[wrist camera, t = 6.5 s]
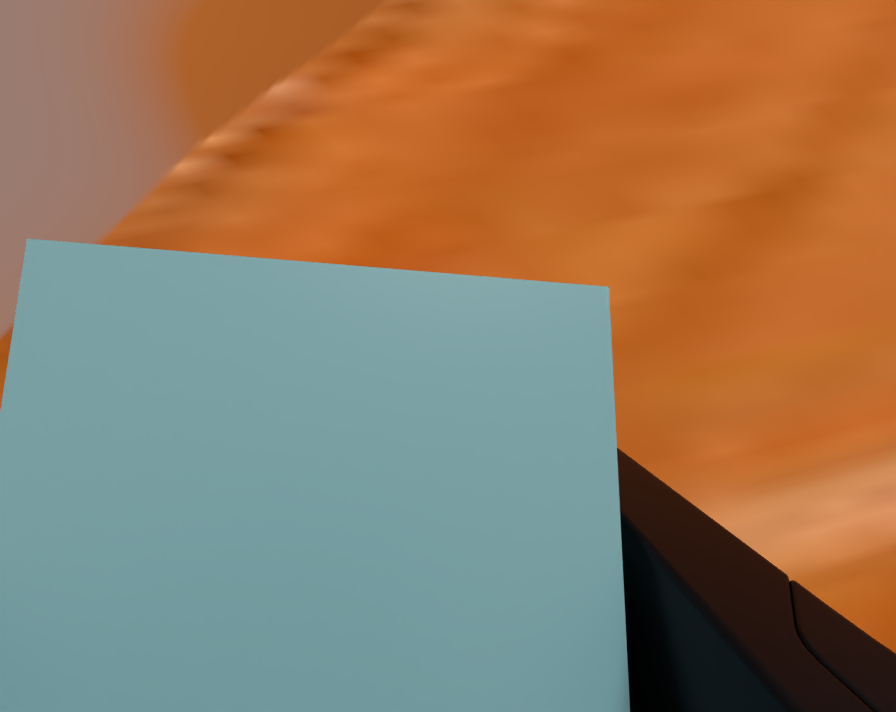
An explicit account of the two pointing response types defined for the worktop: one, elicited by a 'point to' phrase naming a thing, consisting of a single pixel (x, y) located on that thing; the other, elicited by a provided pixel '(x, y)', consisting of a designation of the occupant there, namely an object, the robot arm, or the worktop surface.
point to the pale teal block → (306, 489)
